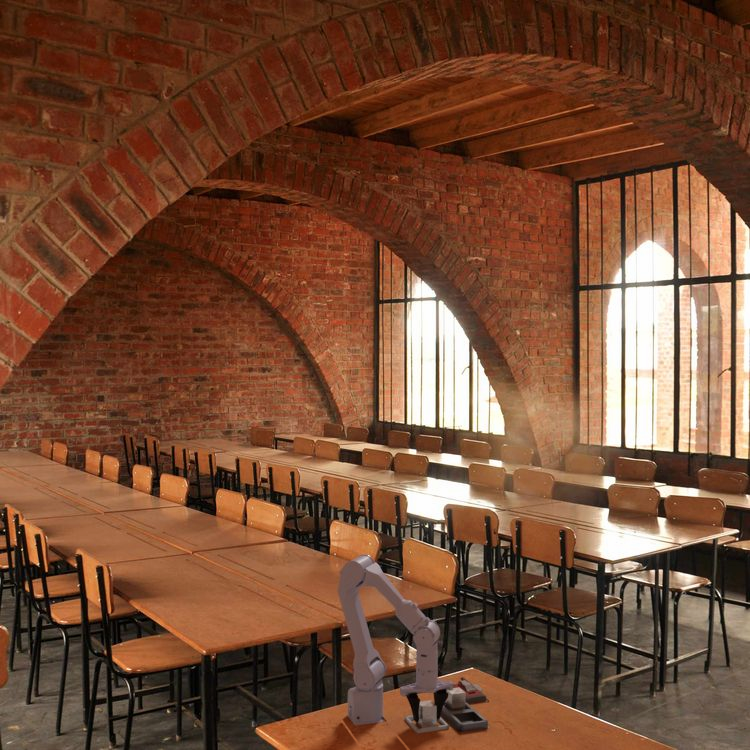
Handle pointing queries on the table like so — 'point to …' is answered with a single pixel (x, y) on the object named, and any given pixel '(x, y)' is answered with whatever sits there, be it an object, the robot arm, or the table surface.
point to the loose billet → (427, 714)
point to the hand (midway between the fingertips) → (426, 719)
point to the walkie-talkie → (471, 691)
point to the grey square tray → (444, 726)
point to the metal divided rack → (465, 719)
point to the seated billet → (456, 699)
